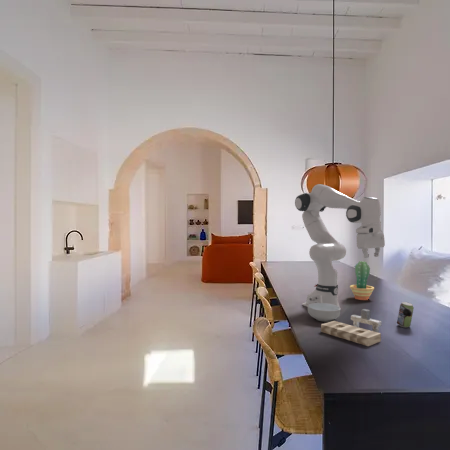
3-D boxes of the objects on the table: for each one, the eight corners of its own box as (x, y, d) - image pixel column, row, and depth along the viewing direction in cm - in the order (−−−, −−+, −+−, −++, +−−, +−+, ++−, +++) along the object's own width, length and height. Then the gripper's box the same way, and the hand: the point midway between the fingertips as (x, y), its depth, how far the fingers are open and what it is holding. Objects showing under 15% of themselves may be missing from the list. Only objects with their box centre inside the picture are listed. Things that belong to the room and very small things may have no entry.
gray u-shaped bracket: (350, 327, 173) (350, 307, 173) (354, 326, 175) (354, 306, 175) (377, 335, 162) (378, 313, 162) (381, 334, 164) (381, 312, 163)
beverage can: (398, 323, 180) (398, 300, 180) (414, 326, 175) (415, 302, 175) (395, 326, 175) (395, 302, 175) (411, 329, 170) (412, 304, 170)
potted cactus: (374, 297, 241) (375, 260, 241) (373, 302, 227) (374, 263, 227) (350, 295, 248) (351, 259, 247) (348, 299, 234) (348, 262, 233)
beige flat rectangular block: (321, 331, 167) (321, 324, 167) (333, 327, 173) (334, 320, 173) (368, 346, 148) (368, 338, 148) (380, 341, 154) (380, 333, 154)
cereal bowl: (318, 325, 177) (318, 311, 177) (301, 316, 193) (301, 303, 193) (347, 322, 182) (347, 309, 182) (329, 314, 198) (329, 301, 198)
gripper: (376, 229, 185) (376, 255, 185) (354, 229, 172) (354, 258, 172) (387, 229, 180) (388, 256, 180) (366, 229, 167) (366, 258, 167)
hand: (371, 257), depth 176 cm, fingers open, 8 cm apart
